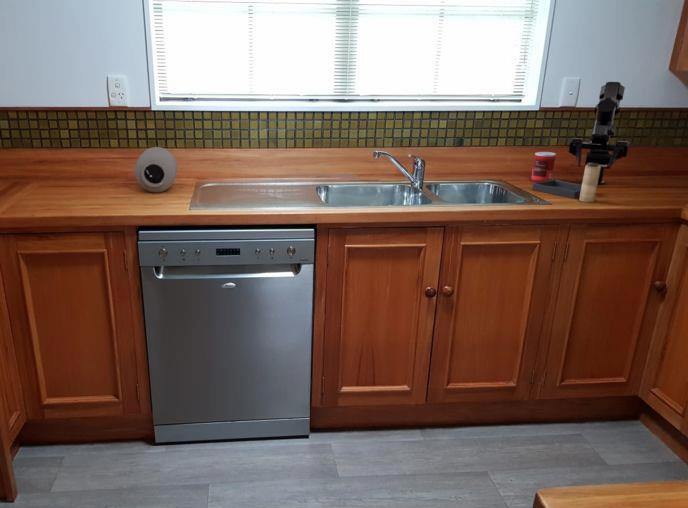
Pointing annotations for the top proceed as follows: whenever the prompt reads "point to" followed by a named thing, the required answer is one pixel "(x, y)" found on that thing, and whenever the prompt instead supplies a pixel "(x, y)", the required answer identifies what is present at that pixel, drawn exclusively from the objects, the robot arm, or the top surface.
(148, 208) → the top surface
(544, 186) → the tray
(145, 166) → the grey egg shaped device
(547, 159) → the canned food
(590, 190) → the pepper mill
